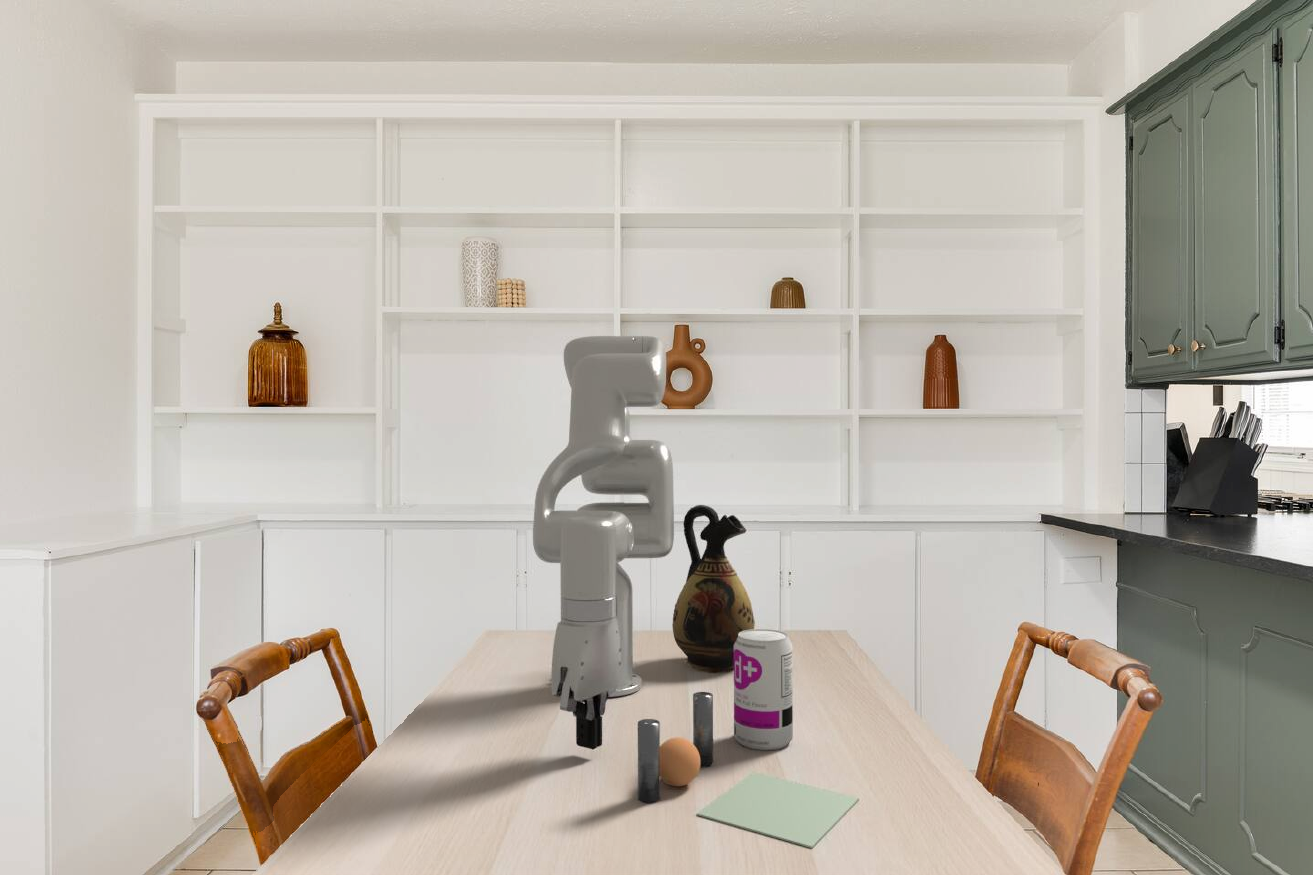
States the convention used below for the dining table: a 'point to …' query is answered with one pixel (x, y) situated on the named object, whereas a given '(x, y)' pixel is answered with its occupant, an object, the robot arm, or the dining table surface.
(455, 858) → the dining table surface
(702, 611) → the ceramic jug
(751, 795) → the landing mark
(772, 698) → the supplement can
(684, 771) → the ball
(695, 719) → the post
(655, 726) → the post
